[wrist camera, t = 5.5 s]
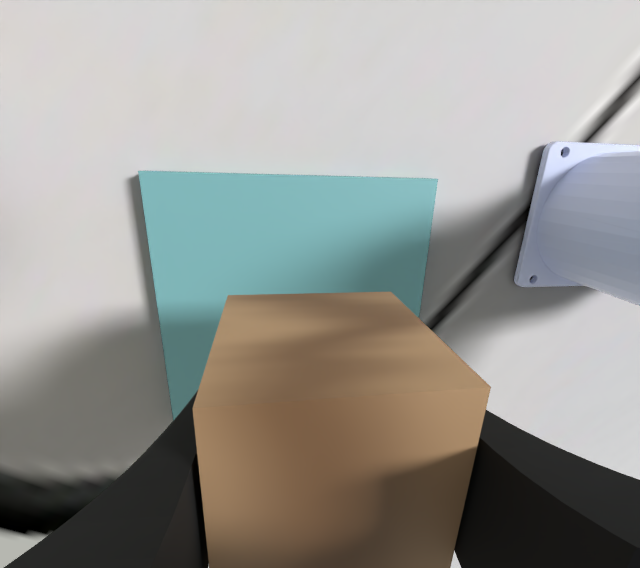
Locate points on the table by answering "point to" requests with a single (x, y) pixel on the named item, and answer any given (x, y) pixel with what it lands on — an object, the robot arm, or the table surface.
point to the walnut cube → (333, 434)
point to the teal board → (274, 248)
